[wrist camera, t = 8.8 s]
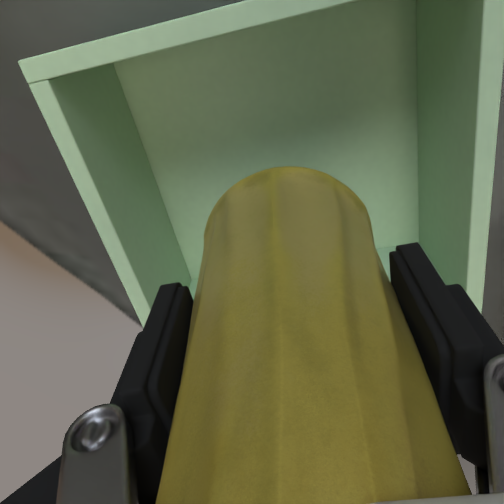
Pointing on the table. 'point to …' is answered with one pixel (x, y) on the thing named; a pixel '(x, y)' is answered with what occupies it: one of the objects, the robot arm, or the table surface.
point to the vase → (301, 361)
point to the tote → (283, 124)
